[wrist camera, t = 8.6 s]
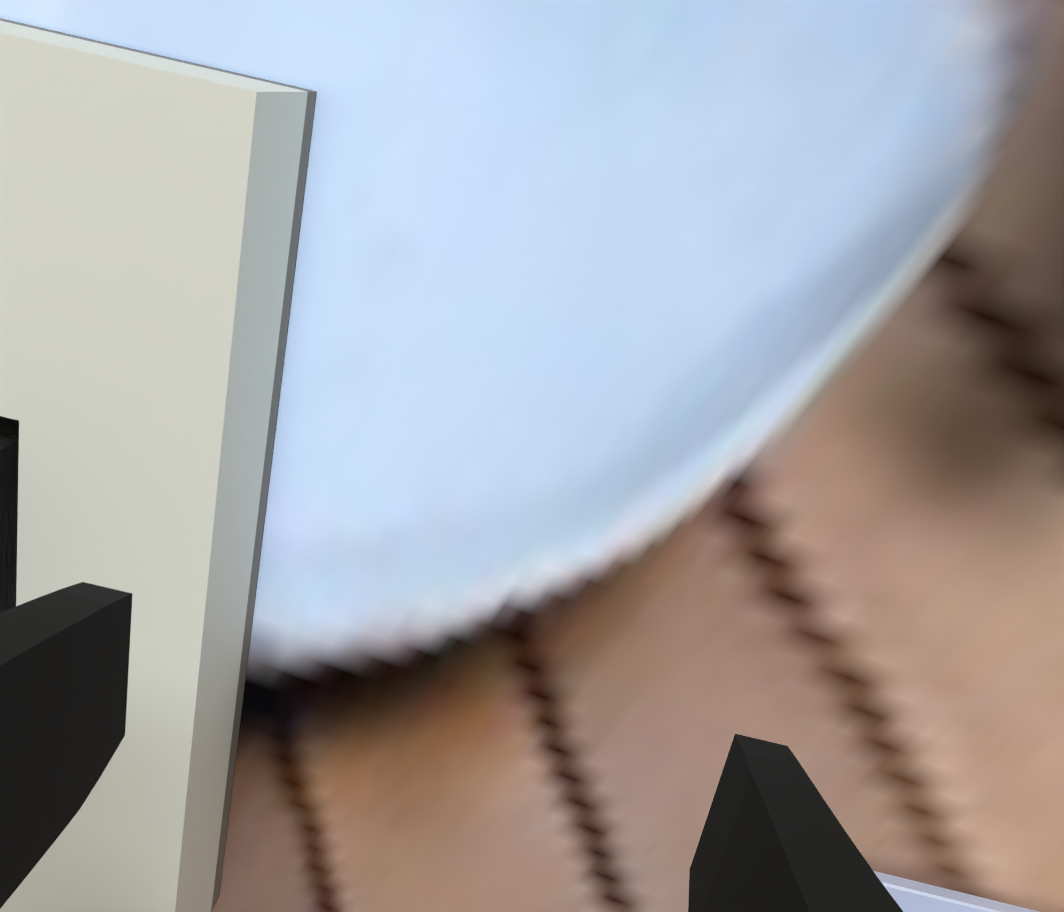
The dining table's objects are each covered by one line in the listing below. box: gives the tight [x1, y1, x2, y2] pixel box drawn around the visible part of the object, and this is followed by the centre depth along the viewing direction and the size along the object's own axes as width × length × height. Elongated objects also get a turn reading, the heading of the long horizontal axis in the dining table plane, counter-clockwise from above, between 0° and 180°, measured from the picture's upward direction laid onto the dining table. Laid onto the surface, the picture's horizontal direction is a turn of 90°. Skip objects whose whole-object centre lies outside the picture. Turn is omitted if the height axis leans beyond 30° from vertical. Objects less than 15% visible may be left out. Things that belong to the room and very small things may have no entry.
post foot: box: [0, 19, 316, 912], centre depth 20 cm, size 20×10×3 cm, turn 168°
